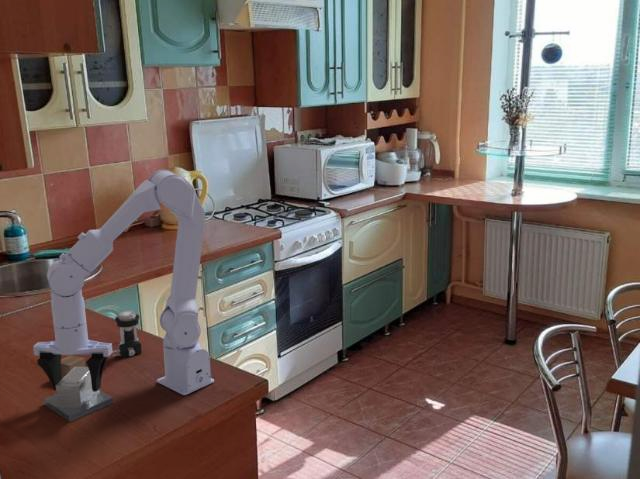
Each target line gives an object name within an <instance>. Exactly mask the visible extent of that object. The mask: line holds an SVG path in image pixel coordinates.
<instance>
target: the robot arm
mask: <svg viewBox="0 0 640 479" xmlns="http://www.w3.org/2000/svg"><path fill="white" fill-rule="evenodd" d="M160 204H163V206H165V207H167V208H168V209H169V210H170V212H172V214H174V215H175V217H176V218H177V219H178V222H177V233H176V241H175V250H174V260H173V265H172V266H173V268H172V275H171V276H172V278H171V285H170V286H171V288H170V294H169V295H168V297H167V298H166V303H165V307H164V309H163V311H162V312H161V314H160V316H159V323H160V327H161V329H162V330H163V331H165V335H164V337H163V340H162V348H163V350H162V351H163V362H164V364H163V365H164V376H163V377H160V378H157V379H156V382H157V383H158V384H161V385H162V386H164V387H166V388H167V389H169V390H173V391H174V392H176V393H178V394H180V395H182V396H186V395H189V394H191V393H193V392H195V391H198V390H199V389H202V388H204V387H207V386H209V385H211V384H213V383H214V382H215V379H214V378H213V377H212V374H211V372H212V371H211V358H210V357H211V356H210V354H209V352H208V351H207V350H206V349H205V348H204V347H202V345H201V344H200V340H199V338H200V336H201V332H202V331H201V325H200V323H199V309H198V306H197V301H196V299H197V297H196V296H197V290H198V281H199V273H200V265H201V264H200V263H201V256H202V247H203V239H204V238H203V237H204V229H205V222H206V212H205V209H204V208H203V206H202V204H201V201H200V199H199V198H198V194H197V193H196V188H195V187H194V186H193V185H192V184H191V183H190V182H189V181H188V180H187V179H186V178H185V177H184V176H182V175H179V174H175V172H173V171H171V170H169V169H159V170H156V171H155V172H153V173H152V174H151V175H150V177H149V178H148V179H145V180H144V181H143V182H141V183H140V184H139V185H138V187H137V188H136V189H135V190H134V191H133V192H132V193H131V194H130V195H129V197H128V198H126V200H124V202H123V203H122V204H121V205H120V206H119V207H118V208H117V210H116V211H115V212H114V213H113V214H112V215H111V216H110V217H109V219H108V220H107V221H106V222H105V223H104V224H103V225H102V226H101V227H100V228H97V229H89V230H88V231H87V232H86V233H84V232H81V233H80V234H79V235H77V238H78V240H77V242H76V243H75V244H74V245H73V246H72V247H71V248H70V249H69V250H68V251H67V252H65V253H64V252H62V253H61V254H60V255H59V260H58V259H57V260H56V261H54V262H52V263H51V265H49V267H48V269H47V273H46V275H45V276H46V279H47V282H48V284H49V287H50V300H51V301H50V302H51V303H50V306H51V314H52V323H53V330H54V337H55V340H51V341H38V342H36V343H35V344H34V345H33V355H34V356H37V357H39V358H38V359H37V361H36V362H37V365H38V366H39V367H40V368H41V369H42V370H43V372H44V373H45V374H46V376H47V378H48V380H49V382H50V383H51V386H52V388H53V390H54V392H55V391H56V385H57V384H58V383H59V382H60V381H61V380H62V373H61V360H62V356H70V355H73V356H77V355H79V356H91V357H89V358H88V359H87V360H85V365H87V366H86V367H88V368H89V371H90V375H91V384H92V390H93V392H96V391H98V389H99V390H100V388H101V385H102V377H103V372H104V368H105V365H106V363H107V360H108V359H109V357H110V356H111V355H113V353H112V351H113V344H112V342H111V343H110V342H108V343H107V342H101V341H96V340H92V339H89V335H88V325H87V318H86V317H87V315H86V307H85V298H84V297H83V292H82V291H83V290H82V289H83V287H84V285H85V277H87V276H89V275H91V274H92V273H93V271H94V270H96V268H97V267H98V266H99V265H100V264H101V263H102V262H103V261H104V260H106V258H107V257H108V256H109V255H110V254H111V253H112V252H113V251H114V245H113V244H114V241H115V240H116V239H117V238H118V237H119V236H120V235H121V234H122V233H123V232H125V231H126V229H128V227H130V226H131V225H132V224H133V223H134V222H135V221H136V220H137V219H138V218H139V217H141V215H143V214H144V213H147V212H153V211H159V210H162V208H161V205H160Z"/></svg>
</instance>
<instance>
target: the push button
mask: <svg viewBox="0 0 640 479" xmlns="http://www.w3.org/2000/svg"><path fill="white" fill-rule="evenodd" d="M114 320H115V322H116V326H117V327H119V334H120V335H119V336H120V342H119V344H118V345H117V346H118V349H116V350H112V354H111V355H112V357H116V356H120V357H121V358H125V357H129V356H130V357H131V356H132V357H133V356H134V355H141V354H142V353H143V352H142V351H143V350H142V343H141V342H140V341H139V338H138V332H137V325H138V324H139V320H140V315H139V314H137V313H136V312H135V311H133V310H124V311H120V312H119V313H118V315H117V316H116V317H115V318H114ZM114 353H115V354H114Z"/></svg>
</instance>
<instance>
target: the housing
mask: <svg viewBox="0 0 640 479" xmlns="http://www.w3.org/2000/svg"><path fill="white" fill-rule="evenodd" d="M94 393H95V392H93V390H92V384H91V375H90V371H89V368H88V366H85V367H74V368H73V369H72V370H71V371H70V372H69V373H68V374H67V375H66V376H65V377H64V378H63V379H62V380H61V381H60V382H59V383H58V384H57V385H56V393H55V394H57V401H58V407H70V408H82V407H83V405H84V404H85V403H86V402H87V401H88V400H89V398H90V397H91V396H92V395H93V394H94Z"/></svg>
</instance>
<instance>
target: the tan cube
mask: <svg viewBox="0 0 640 479" xmlns="http://www.w3.org/2000/svg"><path fill="white" fill-rule="evenodd" d="M85 359H86V358H85V357H80V356H77V355H67V356H66V357H64V358H61V373H62V379H63V378H64V377H65V376H66V375H67V374H68V373H69V372H70V371H71V370H72V369H73V368H74V367H86V360H85Z"/></svg>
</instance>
